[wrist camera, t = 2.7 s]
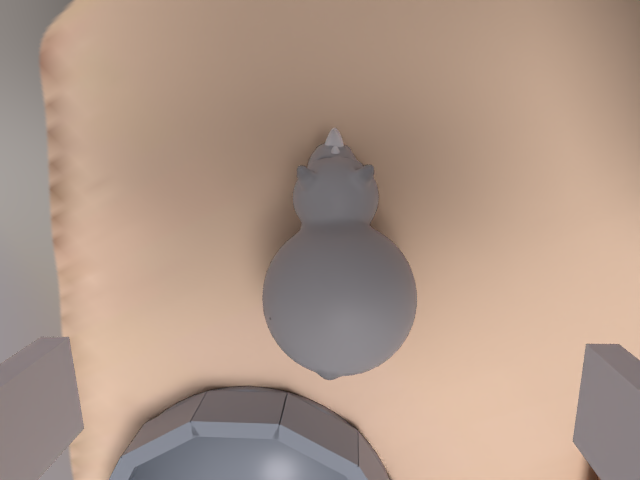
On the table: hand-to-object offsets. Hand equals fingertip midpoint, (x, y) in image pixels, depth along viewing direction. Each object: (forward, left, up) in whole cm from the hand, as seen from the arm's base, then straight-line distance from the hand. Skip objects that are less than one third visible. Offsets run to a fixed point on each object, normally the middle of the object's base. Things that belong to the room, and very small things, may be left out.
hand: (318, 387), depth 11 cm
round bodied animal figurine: (0, 0, -15) cm, 15 cm away
